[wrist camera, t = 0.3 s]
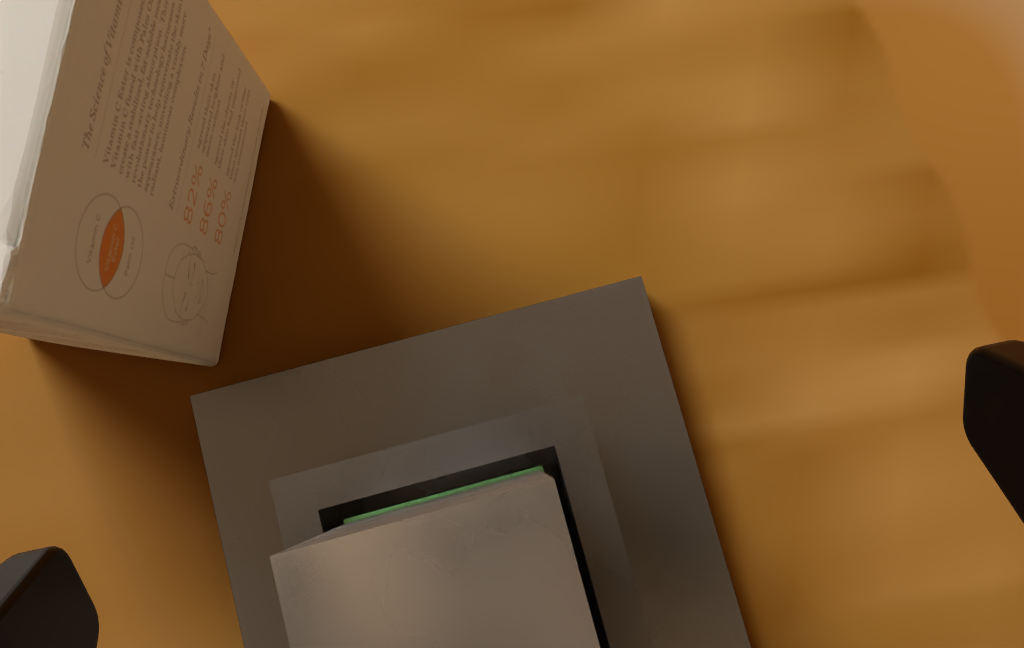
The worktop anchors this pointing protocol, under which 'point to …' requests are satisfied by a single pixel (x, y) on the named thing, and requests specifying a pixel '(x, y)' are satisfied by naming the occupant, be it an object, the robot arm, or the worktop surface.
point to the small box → (123, 173)
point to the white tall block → (442, 573)
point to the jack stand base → (484, 458)
